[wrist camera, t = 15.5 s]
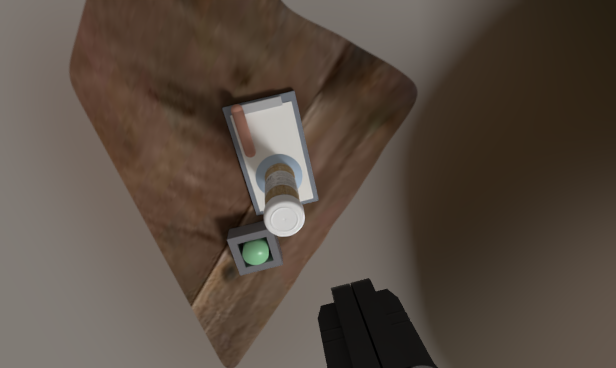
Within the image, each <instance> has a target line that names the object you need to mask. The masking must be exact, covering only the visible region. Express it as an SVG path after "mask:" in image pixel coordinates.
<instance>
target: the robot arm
mask: <svg viewBox="0 0 616 368" xmlns="http://www.w3.org/2000/svg"><path fill="white" fill-rule="evenodd" d="M331 291H332V295H333V300H334V303H330V304H326V305H323V306H321V308H320V312H319V316H318V322H319V327H320V332H321V338H322V342H323V348H324V353H325V358H326V363H327V368H438V367H437V366H436V365H435V364H434V362H433V361H432V359H431V357H430V355H429V354H428V352H427V350H426V348H425V346H424V345H423V343H422V341H421V339H420V337H419V335H418V333H417V332H416V330H415V328H414V326H413V324H412V322H411V321H410V319H409V317H408V315H407V313H406V312H405V310H404V308H403V306H402V304H401V302H400V300H399V299H398V297H397V296H395V295H394V294H393V293H392V292H390V291H389V290H388V289H384V290H380V291H375V289H374V287H373V285H372V282H371V280H370V279H369V278H368V279H364V280H360V281H356V282H352V283H351V286H350V284H345V285H341V286H337V287H333V288H331Z"/></svg>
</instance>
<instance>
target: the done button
mask: <svg viewBox="0 0 616 368" xmlns="http://www.w3.org/2000/svg"><path fill="white" fill-rule="evenodd" d="M268 256H269V244H268V241H267V237H263V238H259V239H256V240H252V241H248V242H244V246H243V258H244V260H245V261H246V262H247V263H249V264H252V265H259V264H262V263H264V262H265V261H266V260H267V258H268Z"/></svg>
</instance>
